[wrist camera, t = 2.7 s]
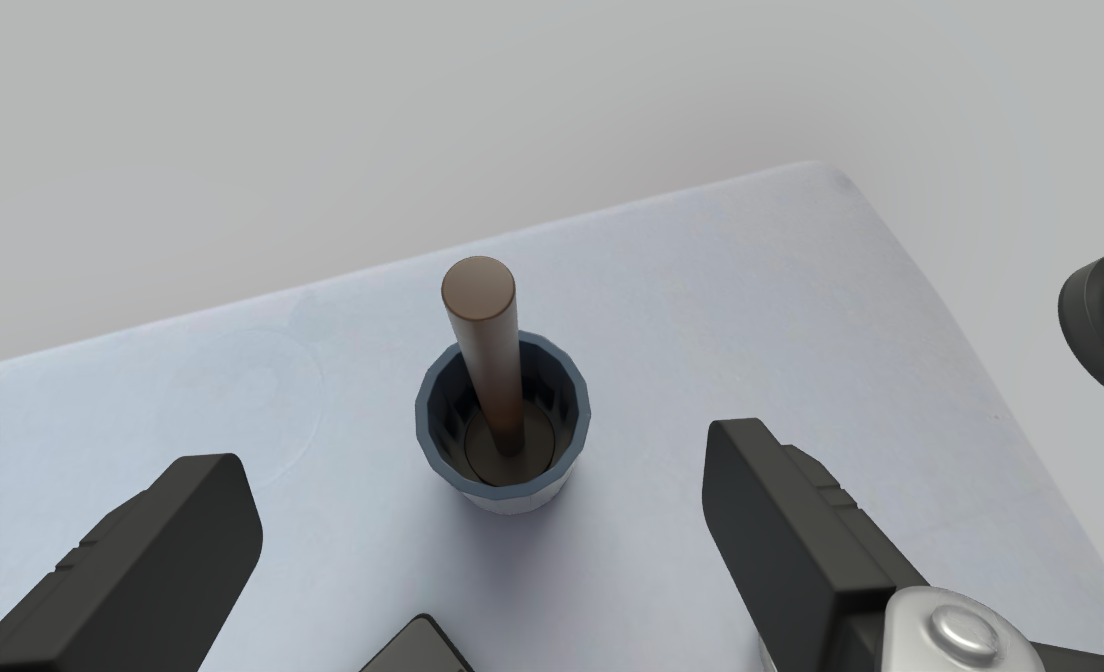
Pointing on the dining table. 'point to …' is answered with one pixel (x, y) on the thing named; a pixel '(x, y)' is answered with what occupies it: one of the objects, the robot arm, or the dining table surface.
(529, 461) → the brown wooden plunger
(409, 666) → the smartphone
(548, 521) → the dining table surface
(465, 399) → the crock
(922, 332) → the dining table surface
